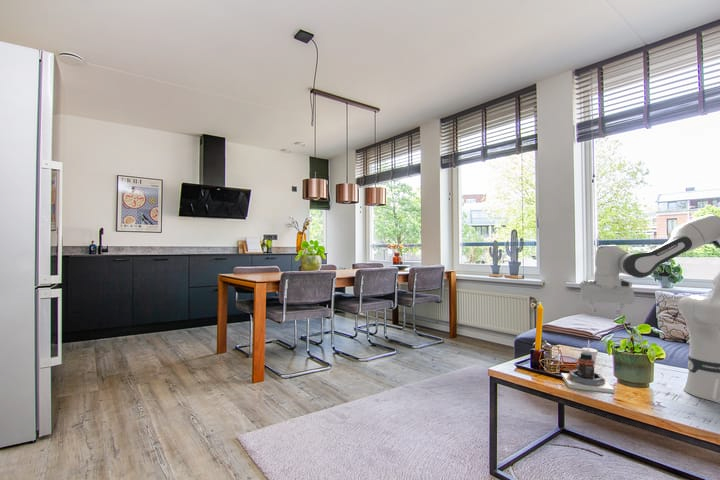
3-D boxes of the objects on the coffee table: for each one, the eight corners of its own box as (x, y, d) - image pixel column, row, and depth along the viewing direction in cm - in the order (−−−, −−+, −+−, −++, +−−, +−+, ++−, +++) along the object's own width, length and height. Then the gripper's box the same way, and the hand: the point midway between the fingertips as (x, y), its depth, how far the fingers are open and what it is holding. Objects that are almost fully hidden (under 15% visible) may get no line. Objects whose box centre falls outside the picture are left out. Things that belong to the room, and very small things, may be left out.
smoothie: (579, 367, 179) (579, 338, 179) (593, 368, 178) (593, 339, 178) (585, 372, 173) (585, 341, 173) (600, 372, 172) (600, 342, 172)
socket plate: (601, 380, 162) (602, 377, 162) (614, 393, 148) (614, 389, 148) (561, 376, 166) (561, 372, 166) (569, 387, 153) (569, 384, 153)
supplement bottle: (597, 382, 156) (598, 355, 156) (586, 383, 154) (587, 356, 154) (585, 377, 161) (585, 351, 161) (574, 378, 159) (575, 351, 160)
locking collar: (599, 377, 161) (599, 372, 161) (609, 387, 150) (609, 381, 150) (564, 374, 165) (564, 368, 165) (571, 383, 153) (571, 377, 153)
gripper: (582, 280, 164) (581, 312, 164) (636, 283, 158) (635, 315, 158) (578, 279, 170) (577, 309, 170) (630, 282, 164) (629, 313, 164)
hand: (606, 312), depth 164 cm, fingers open, 8 cm apart
